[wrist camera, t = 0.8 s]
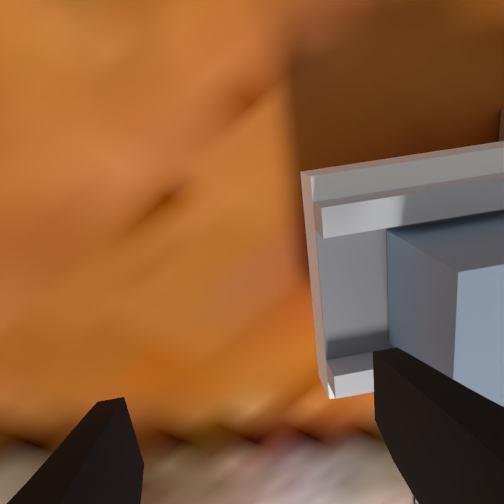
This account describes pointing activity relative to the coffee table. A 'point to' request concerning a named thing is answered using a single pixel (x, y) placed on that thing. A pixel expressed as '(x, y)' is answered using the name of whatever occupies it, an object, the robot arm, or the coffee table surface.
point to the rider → (451, 299)
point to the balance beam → (380, 242)
